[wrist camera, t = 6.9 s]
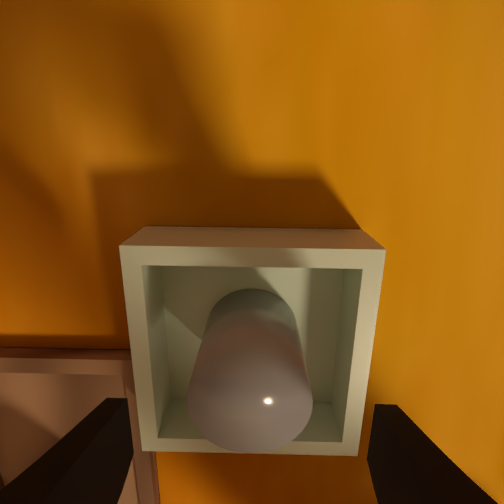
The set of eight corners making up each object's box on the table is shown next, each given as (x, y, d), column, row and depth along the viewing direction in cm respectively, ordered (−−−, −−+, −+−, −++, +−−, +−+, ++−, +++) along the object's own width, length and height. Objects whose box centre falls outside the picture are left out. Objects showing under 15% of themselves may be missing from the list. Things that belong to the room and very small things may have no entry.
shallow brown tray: (145, 350, 16) (139, 360, 15) (167, 574, 21) (163, 591, 20) (-44, 346, 16) (-59, 356, 15) (22, 570, 21) (13, 586, 20)
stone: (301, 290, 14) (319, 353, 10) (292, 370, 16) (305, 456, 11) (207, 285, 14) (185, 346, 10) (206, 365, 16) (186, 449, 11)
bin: (361, 229, 14) (385, 249, 11) (341, 406, 17) (357, 456, 14) (144, 226, 14) (118, 245, 12) (160, 402, 17) (142, 450, 14)
